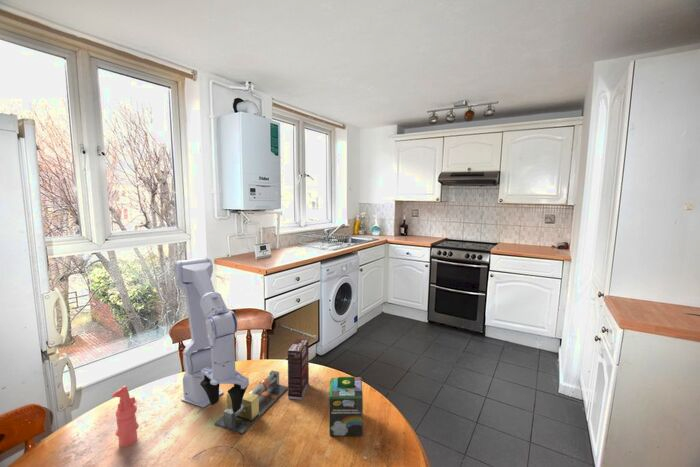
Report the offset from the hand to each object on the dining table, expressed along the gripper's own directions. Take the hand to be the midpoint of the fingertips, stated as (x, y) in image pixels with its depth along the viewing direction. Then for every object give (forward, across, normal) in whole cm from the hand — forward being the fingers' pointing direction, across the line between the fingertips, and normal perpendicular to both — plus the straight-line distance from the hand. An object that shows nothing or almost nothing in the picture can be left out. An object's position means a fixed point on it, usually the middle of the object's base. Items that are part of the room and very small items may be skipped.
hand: (225, 406), depth 84 cm
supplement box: (+7, +9, +22) cm, 25 cm away
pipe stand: (+7, 0, +12) cm, 14 cm away
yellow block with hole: (+7, 0, +6) cm, 10 cm away
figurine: (+7, -21, -12) cm, 26 cm away
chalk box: (+8, +29, +15) cm, 33 cm away
